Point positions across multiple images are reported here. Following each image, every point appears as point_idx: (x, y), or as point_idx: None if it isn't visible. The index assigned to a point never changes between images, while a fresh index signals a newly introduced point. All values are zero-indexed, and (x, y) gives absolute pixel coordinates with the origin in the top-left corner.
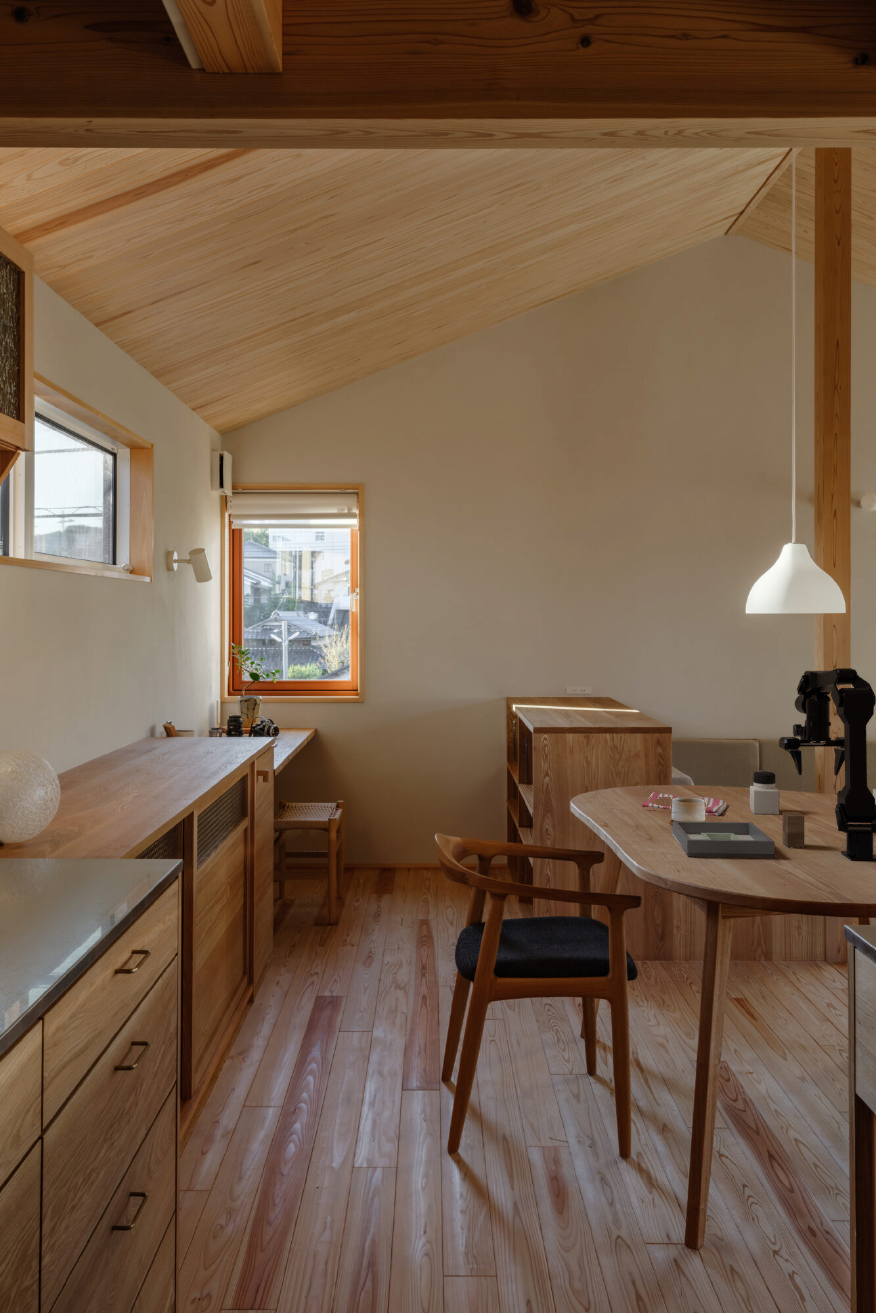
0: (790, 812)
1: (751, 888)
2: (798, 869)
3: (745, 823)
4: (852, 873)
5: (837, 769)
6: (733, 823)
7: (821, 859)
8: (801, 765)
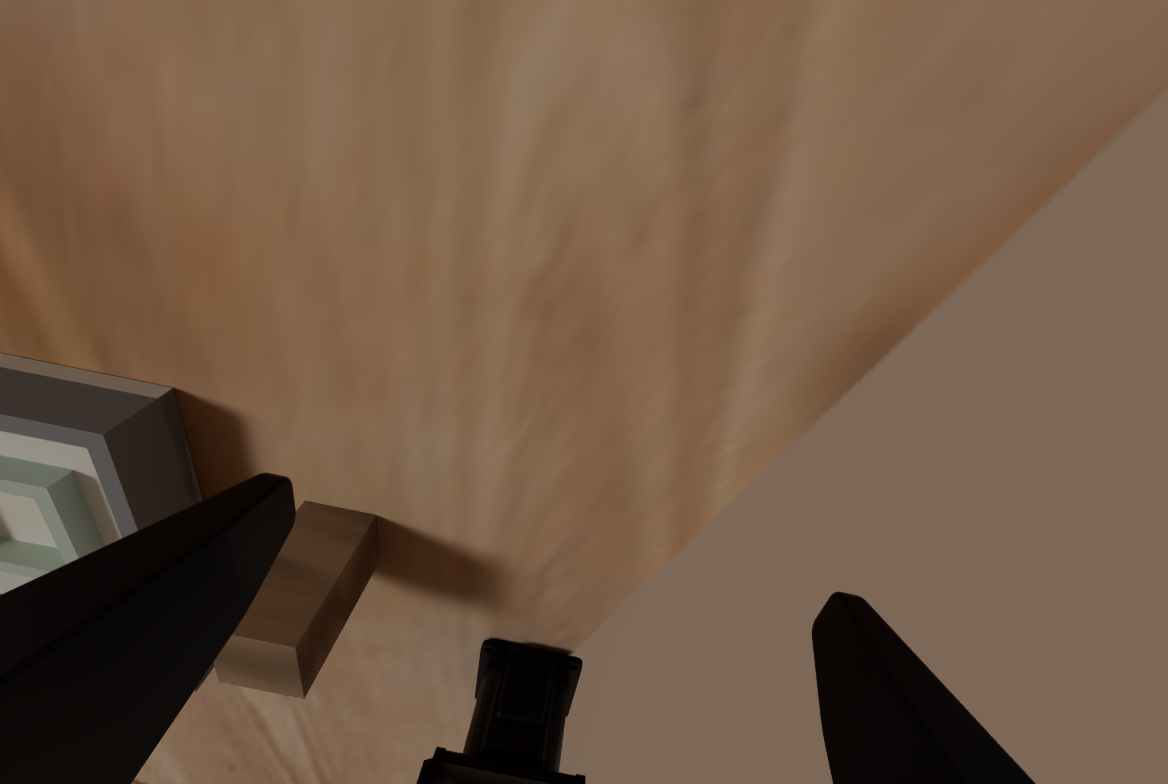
0: (246, 639)
1: (157, 768)
2: (290, 711)
3: (71, 444)
4: (425, 754)
5: (838, 761)
6: (5, 428)
7: (389, 666)
8: (164, 726)
